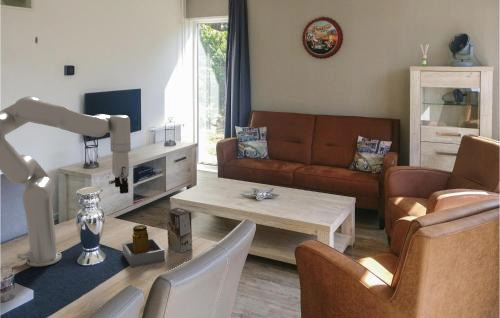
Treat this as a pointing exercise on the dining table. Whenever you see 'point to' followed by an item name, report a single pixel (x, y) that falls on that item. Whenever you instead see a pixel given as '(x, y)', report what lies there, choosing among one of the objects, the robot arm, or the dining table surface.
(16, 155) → the robot arm
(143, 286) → the dining table surface
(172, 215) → the coffee box
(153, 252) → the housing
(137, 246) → the condiment
